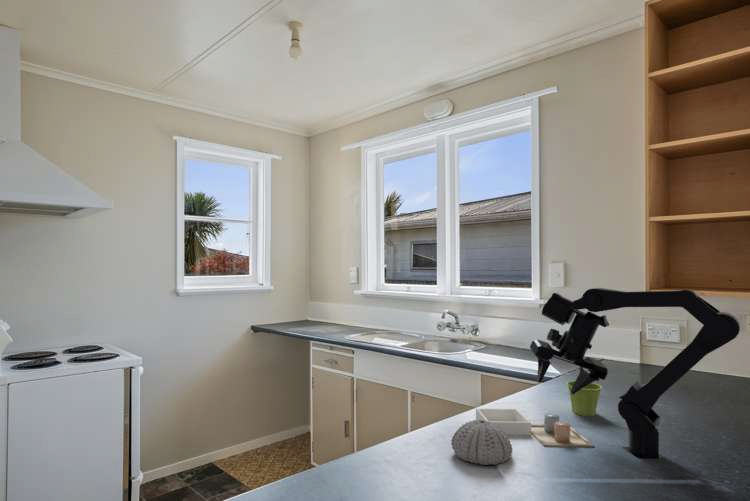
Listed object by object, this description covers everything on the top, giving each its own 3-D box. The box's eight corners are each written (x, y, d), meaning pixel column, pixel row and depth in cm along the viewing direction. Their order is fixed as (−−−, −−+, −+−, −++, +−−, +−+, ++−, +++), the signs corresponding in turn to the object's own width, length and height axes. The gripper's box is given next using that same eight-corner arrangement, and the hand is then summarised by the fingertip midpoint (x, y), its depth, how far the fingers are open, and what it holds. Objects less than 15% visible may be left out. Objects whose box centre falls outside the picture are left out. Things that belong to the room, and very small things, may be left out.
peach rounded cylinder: (572, 443, 112) (573, 426, 112) (558, 443, 112) (558, 426, 112) (566, 437, 116) (566, 421, 116) (551, 437, 116) (552, 421, 116)
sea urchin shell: (440, 449, 109) (441, 414, 109) (490, 443, 113) (490, 409, 114) (472, 474, 96) (472, 434, 96) (526, 465, 101) (526, 428, 101)
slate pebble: (561, 433, 119) (561, 417, 119) (547, 433, 119) (547, 417, 119) (555, 428, 122) (555, 413, 122) (542, 428, 122) (542, 413, 122)
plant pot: (605, 421, 131) (606, 390, 131) (570, 418, 133) (570, 387, 133) (596, 411, 140) (597, 382, 141) (563, 408, 142) (563, 379, 142)
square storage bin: (530, 437, 118) (531, 422, 118) (486, 436, 117) (486, 422, 117) (516, 422, 129) (516, 408, 129) (475, 421, 128) (476, 408, 128)
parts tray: (594, 449, 110) (594, 445, 110) (543, 448, 110) (544, 444, 110) (568, 428, 124) (568, 424, 124) (523, 428, 124) (523, 424, 124)
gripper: (601, 334, 125) (577, 384, 129) (536, 311, 125) (513, 362, 128) (620, 351, 114) (593, 405, 118) (549, 326, 114) (524, 381, 117)
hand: (554, 387), depth 121 cm, fingers open, 9 cm apart
